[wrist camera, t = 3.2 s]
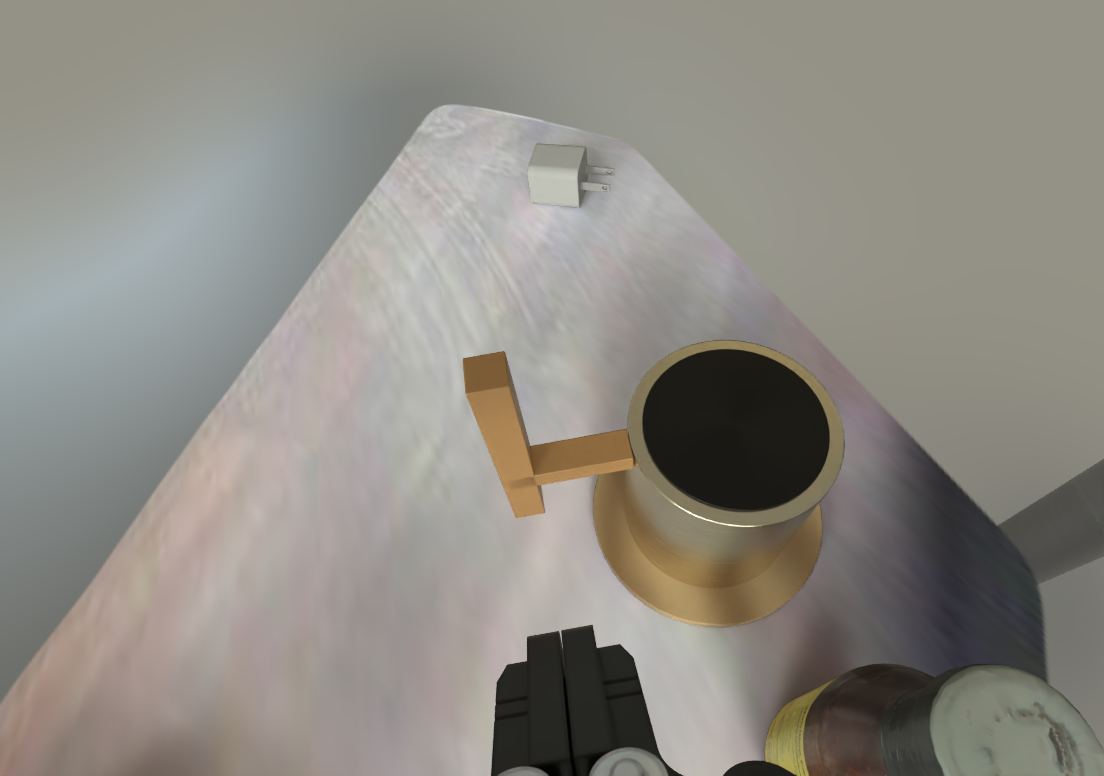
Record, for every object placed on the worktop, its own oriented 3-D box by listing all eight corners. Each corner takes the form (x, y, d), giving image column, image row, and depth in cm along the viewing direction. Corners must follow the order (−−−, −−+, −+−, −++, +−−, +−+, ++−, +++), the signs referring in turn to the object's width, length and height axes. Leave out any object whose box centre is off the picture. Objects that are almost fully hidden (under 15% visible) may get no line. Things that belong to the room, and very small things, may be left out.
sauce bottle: (900, 740, 32) (1219, 712, 15) (864, 869, 29) (1197, 1010, 12) (777, 670, 34) (935, 577, 17) (733, 785, 32) (867, 807, 15)
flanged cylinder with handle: (760, 423, 41) (853, 204, 25) (816, 571, 36) (980, 414, 20) (517, 466, 41) (454, 274, 25) (538, 621, 36) (475, 504, 20)
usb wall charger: (542, 176, 57) (537, 139, 54) (615, 182, 56) (616, 145, 52) (532, 206, 55) (526, 170, 52) (608, 213, 54) (607, 176, 51)
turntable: (773, 399, 43) (776, 393, 42) (856, 604, 36) (861, 601, 35) (576, 434, 43) (575, 429, 42) (618, 647, 35) (618, 645, 35)
